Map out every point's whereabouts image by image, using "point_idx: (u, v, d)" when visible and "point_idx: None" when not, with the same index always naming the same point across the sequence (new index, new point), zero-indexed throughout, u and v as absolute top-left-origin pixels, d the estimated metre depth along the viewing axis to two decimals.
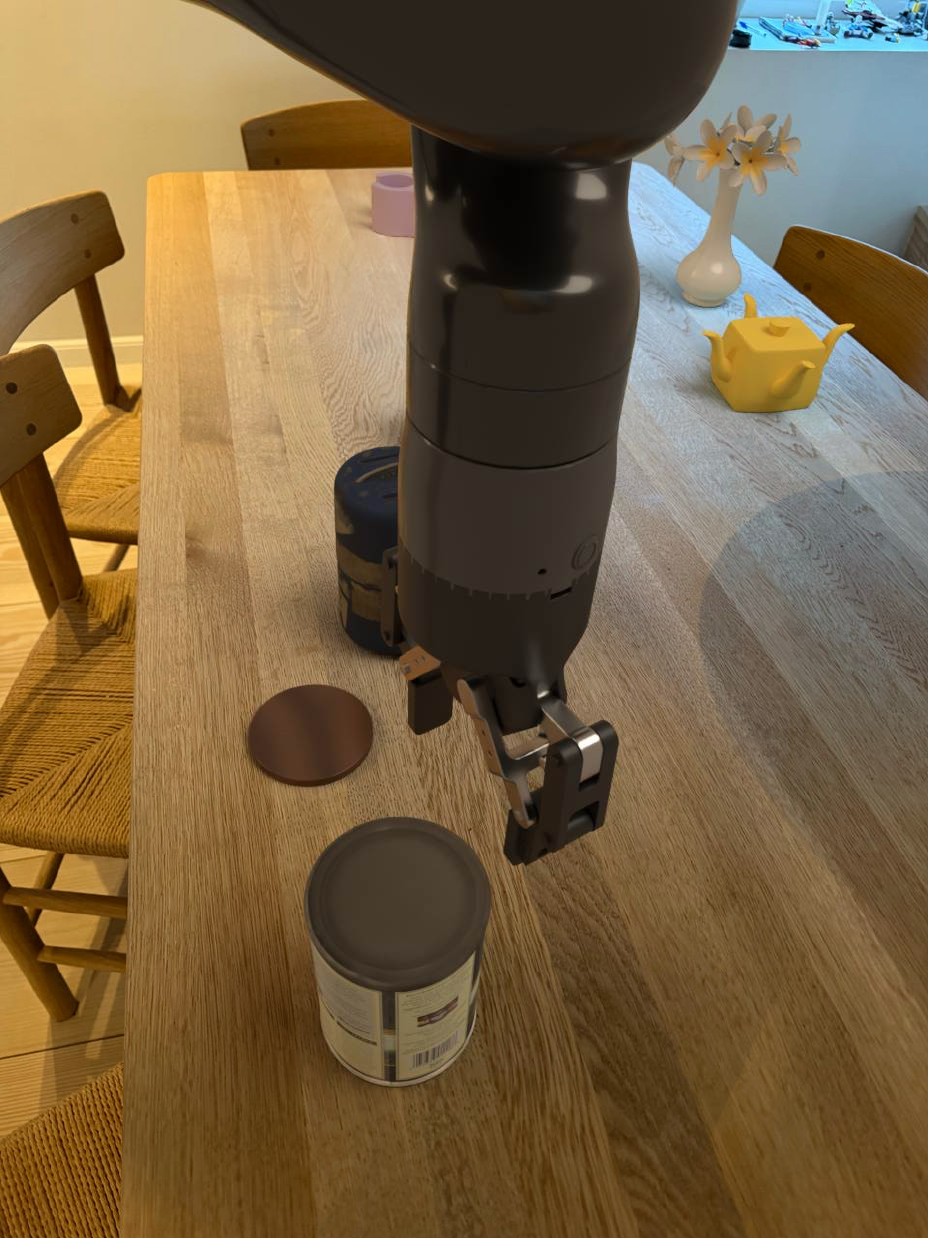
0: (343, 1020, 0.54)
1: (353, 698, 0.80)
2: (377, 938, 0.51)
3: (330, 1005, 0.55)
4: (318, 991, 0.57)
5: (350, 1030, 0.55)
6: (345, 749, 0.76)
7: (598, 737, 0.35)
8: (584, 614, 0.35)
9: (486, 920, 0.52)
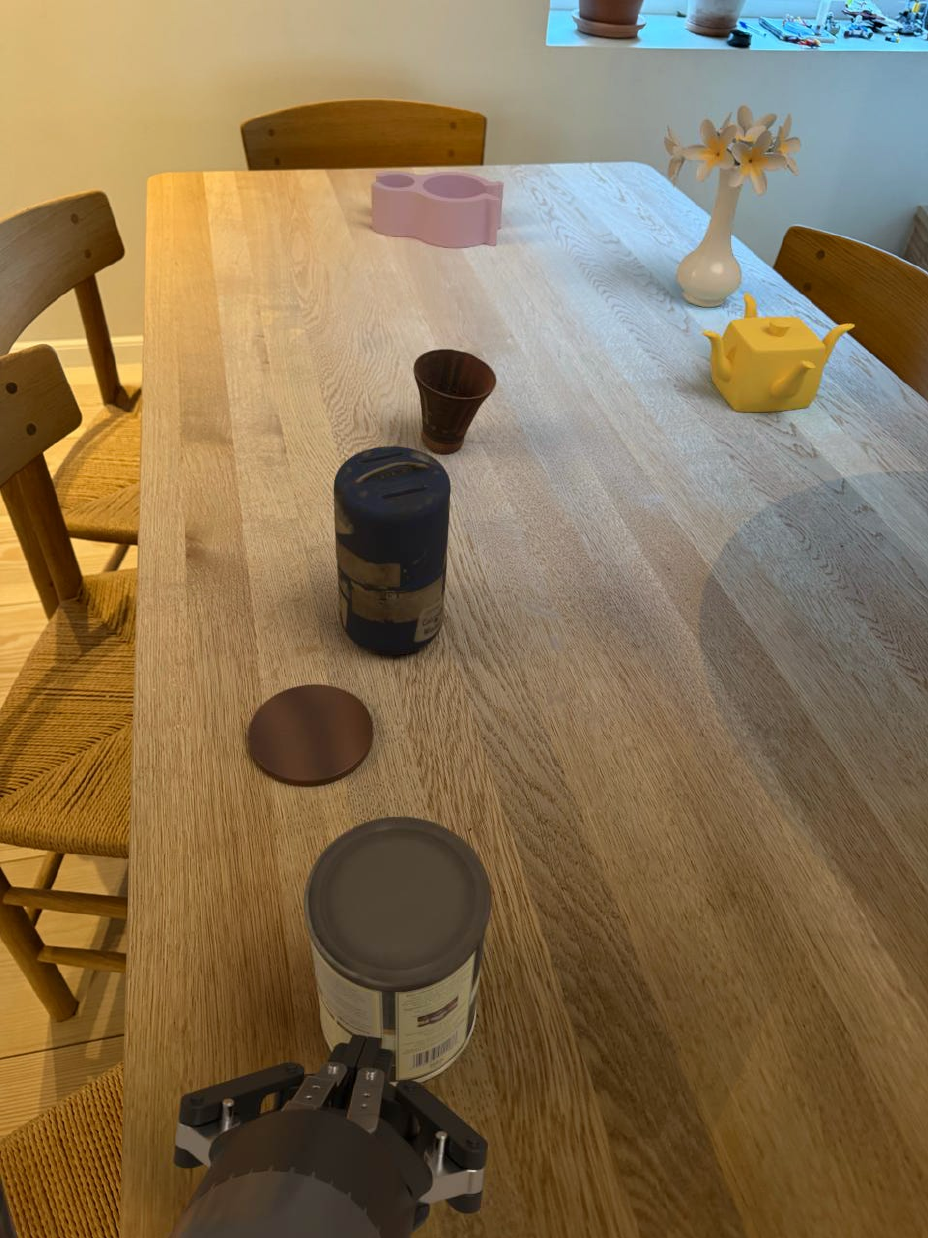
0: (343, 1020, 0.54)
1: (353, 698, 0.80)
2: (377, 937, 0.51)
3: (330, 1005, 0.55)
4: (318, 991, 0.57)
5: (350, 1030, 0.55)
6: (345, 749, 0.76)
7: (175, 1142, 0.38)
8: None
9: (486, 920, 0.52)
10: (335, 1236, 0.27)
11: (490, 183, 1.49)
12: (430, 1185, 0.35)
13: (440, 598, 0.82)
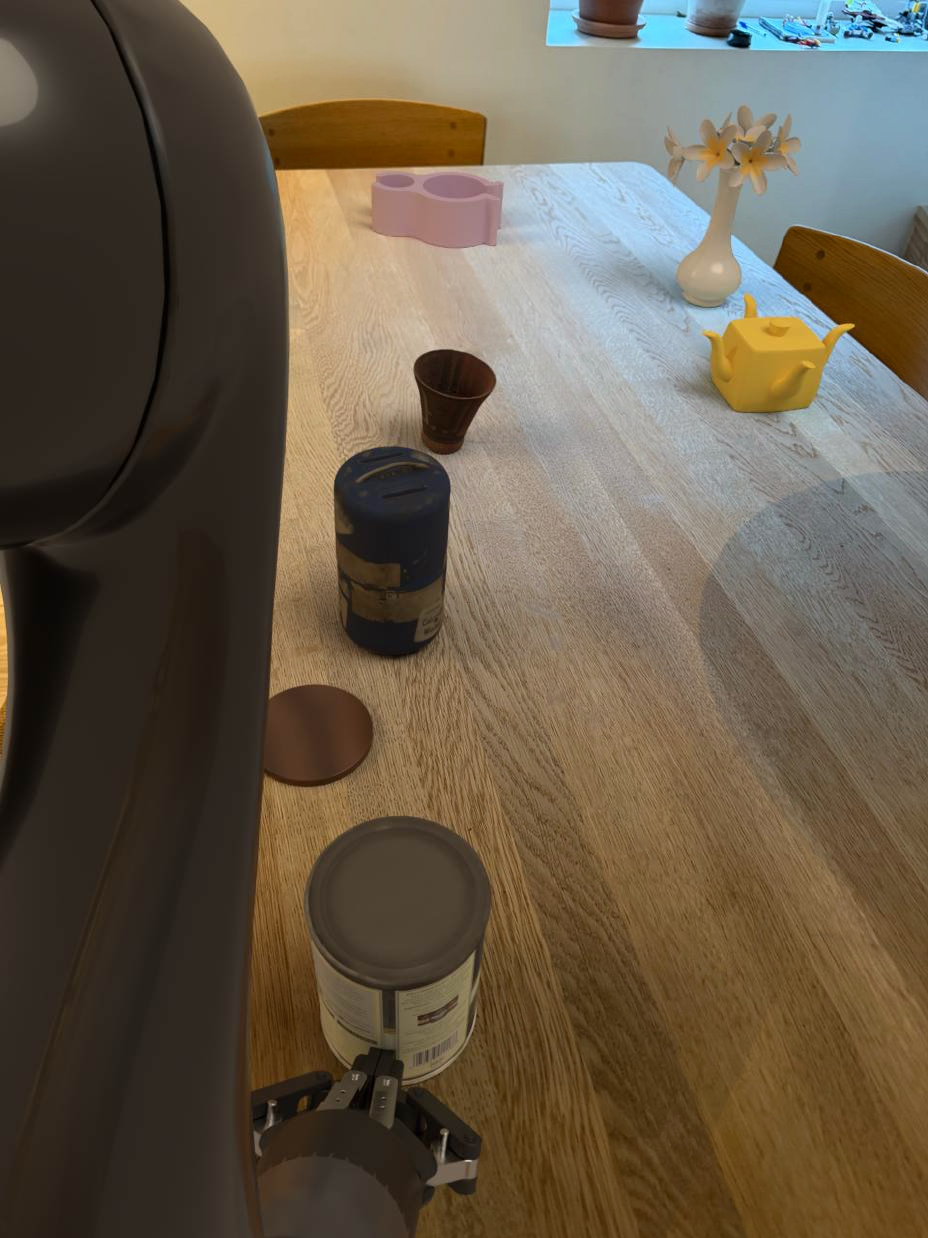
0: (343, 1019, 0.54)
1: (353, 698, 0.80)
2: (377, 936, 0.51)
3: (330, 1004, 0.55)
4: (318, 990, 0.57)
5: (350, 1029, 0.55)
6: (345, 749, 0.76)
7: None
8: None
9: (486, 919, 0.52)
10: (365, 1205, 0.36)
11: (490, 183, 1.49)
12: (435, 1171, 0.44)
13: (440, 598, 0.82)
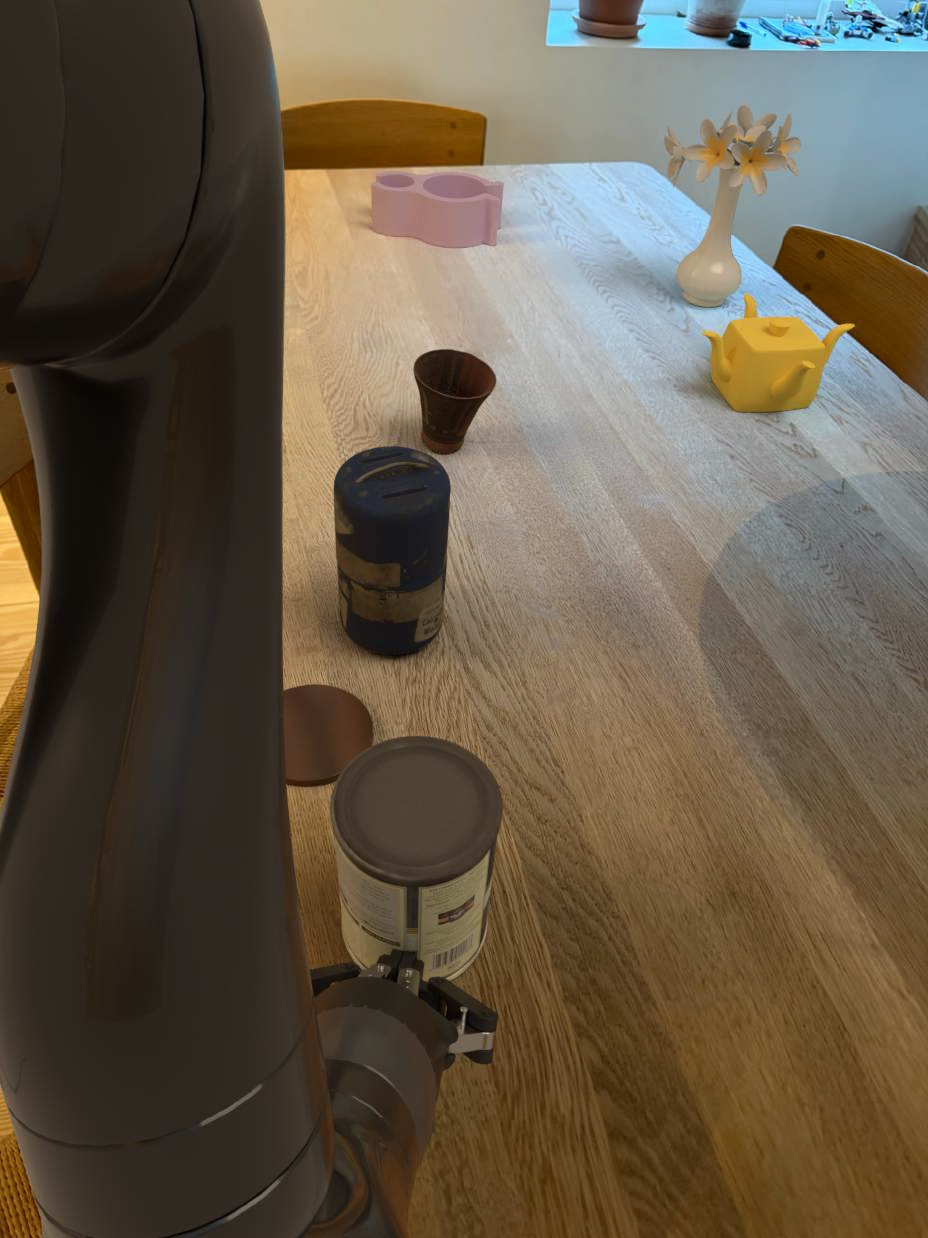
0: (368, 923, 0.59)
1: (353, 698, 0.80)
2: (399, 839, 0.55)
3: (355, 910, 0.59)
4: (342, 901, 0.61)
5: (375, 933, 0.59)
6: (345, 749, 0.76)
7: None
8: None
9: (499, 821, 0.56)
10: (398, 1042, 0.41)
11: (490, 183, 1.49)
12: (456, 1038, 0.49)
13: (440, 598, 0.82)
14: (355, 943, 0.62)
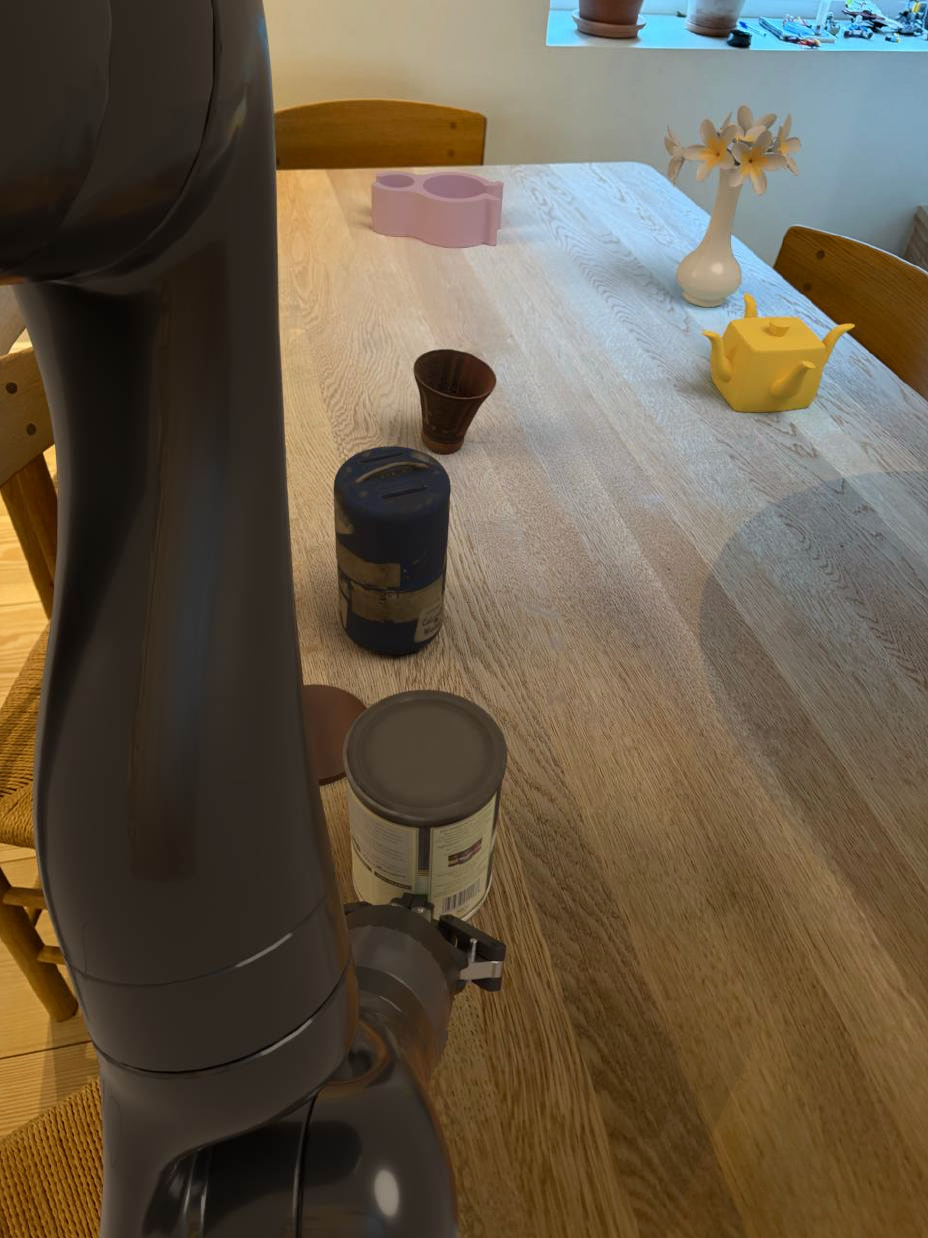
0: (381, 868, 0.61)
1: (353, 698, 0.80)
2: (411, 784, 0.58)
3: (368, 856, 0.62)
4: (354, 850, 0.64)
5: (387, 878, 0.62)
6: None
7: None
8: None
9: (504, 765, 0.59)
10: (414, 955, 0.44)
11: (490, 183, 1.49)
12: (467, 964, 0.51)
13: (440, 598, 0.82)
14: (367, 891, 0.65)
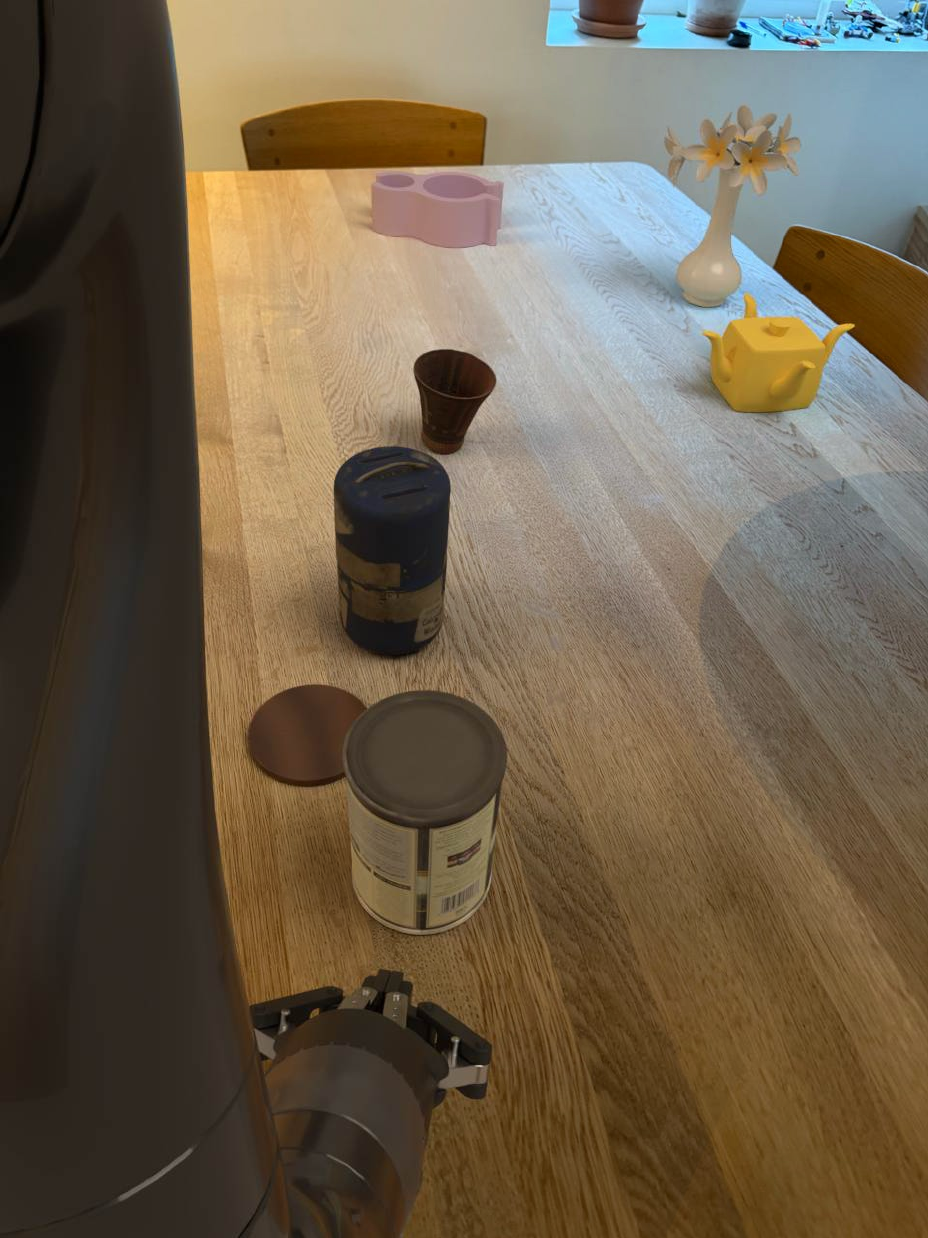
0: (380, 868, 0.61)
1: (353, 698, 0.80)
2: (410, 785, 0.58)
3: (367, 856, 0.62)
4: (354, 850, 0.64)
5: (386, 878, 0.62)
6: None
7: None
8: None
9: (504, 767, 0.59)
10: (383, 1086, 0.37)
11: (490, 183, 1.49)
12: (447, 1073, 0.45)
13: (440, 598, 0.82)
14: (366, 890, 0.65)
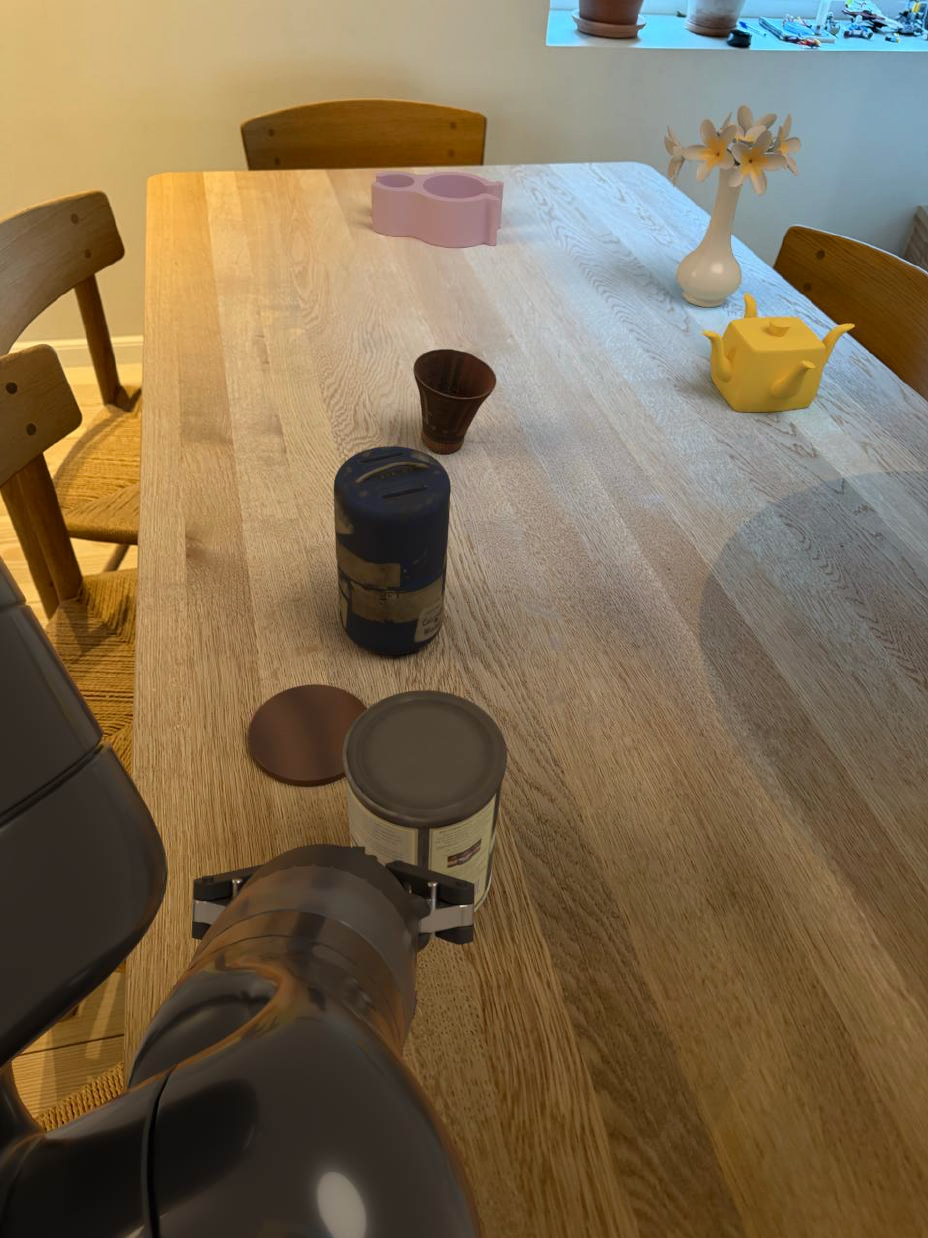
0: None
1: (353, 698, 0.80)
2: (410, 785, 0.58)
3: None
4: None
5: None
6: None
7: (192, 920, 0.41)
8: None
9: (504, 767, 0.59)
10: (360, 893, 0.32)
11: (490, 183, 1.49)
12: (429, 911, 0.40)
13: (440, 598, 0.82)
14: None
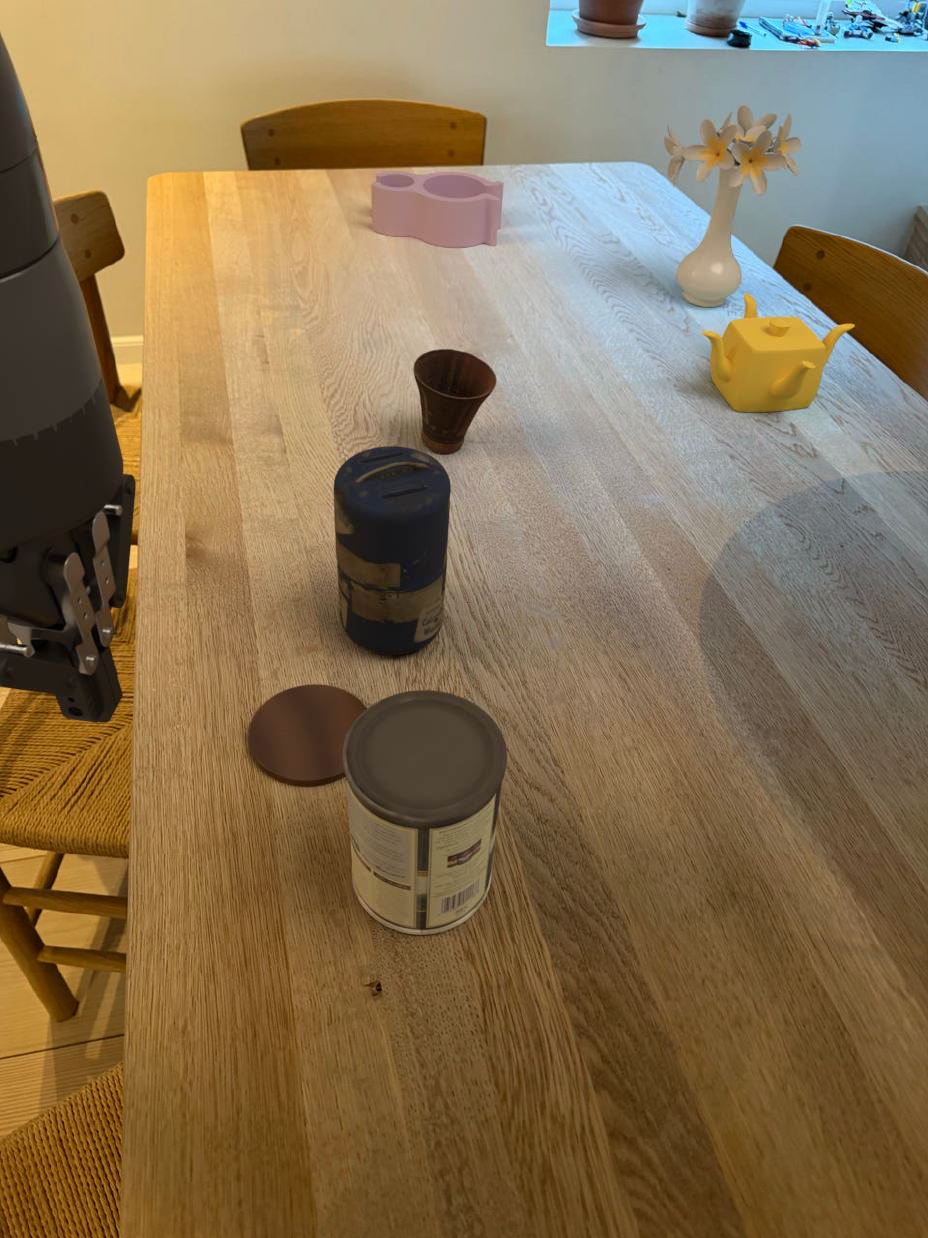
0: (380, 868, 0.61)
1: (353, 698, 0.80)
2: (410, 785, 0.58)
3: (367, 856, 0.62)
4: (354, 850, 0.64)
5: (386, 878, 0.62)
6: None
7: None
8: (6, 507, 0.32)
9: (504, 767, 0.59)
10: None
11: (490, 183, 1.49)
12: None
13: (440, 598, 0.82)
14: (366, 890, 0.65)
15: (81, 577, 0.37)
